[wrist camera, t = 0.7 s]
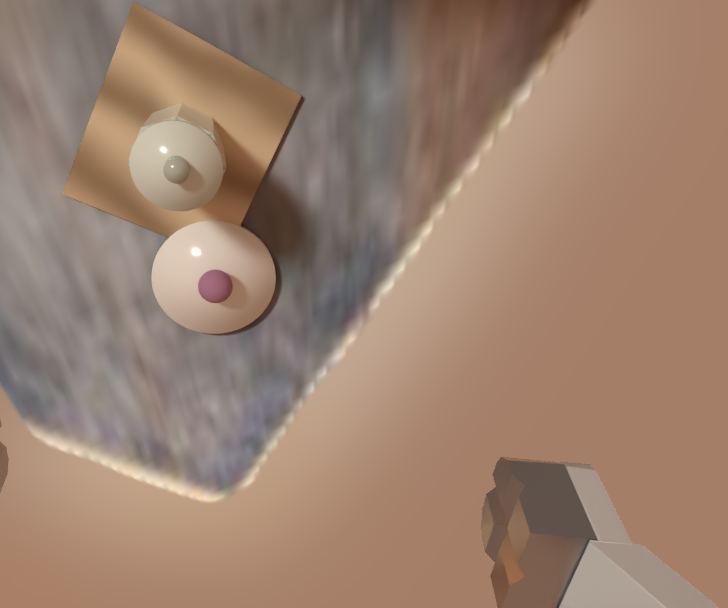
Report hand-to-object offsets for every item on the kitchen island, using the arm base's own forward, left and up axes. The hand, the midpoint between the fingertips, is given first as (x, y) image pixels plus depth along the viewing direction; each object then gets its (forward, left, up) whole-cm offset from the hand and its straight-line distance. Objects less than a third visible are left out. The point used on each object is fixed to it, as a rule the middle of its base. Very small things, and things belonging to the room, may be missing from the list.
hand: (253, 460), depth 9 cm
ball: (+13, +5, -42) cm, 45 cm away
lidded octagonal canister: (+3, -2, -43) cm, 43 cm away
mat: (+3, -2, -43) cm, 43 cm away
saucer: (+13, +5, -43) cm, 45 cm away
